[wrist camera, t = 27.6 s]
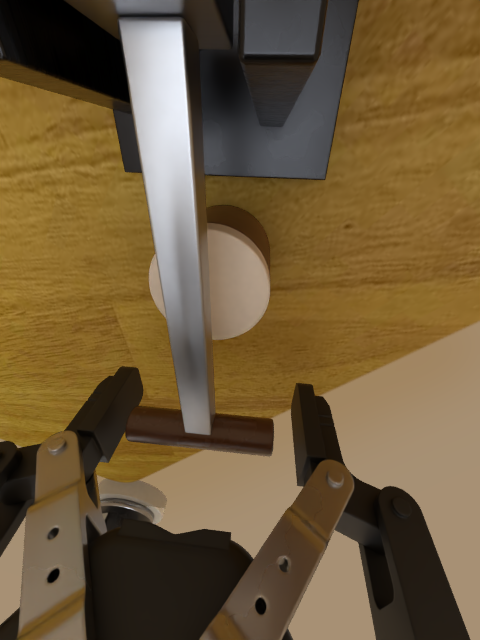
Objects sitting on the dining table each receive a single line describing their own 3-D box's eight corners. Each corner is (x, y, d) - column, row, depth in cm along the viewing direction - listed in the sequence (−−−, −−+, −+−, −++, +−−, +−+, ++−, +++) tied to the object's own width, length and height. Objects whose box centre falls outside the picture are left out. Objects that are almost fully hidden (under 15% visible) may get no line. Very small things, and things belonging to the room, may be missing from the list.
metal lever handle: (270, 422, 12) (270, 475, 10) (147, 409, 12) (123, 459, 10) (373, -240, 3) (511, -748, 2) (-32, -214, 4) (-347, -593, 2)
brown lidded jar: (265, 294, 16) (264, 345, 12) (186, 288, 16) (157, 336, 12) (274, 207, 13) (276, 232, 9) (178, 202, 13) (137, 225, 9)
